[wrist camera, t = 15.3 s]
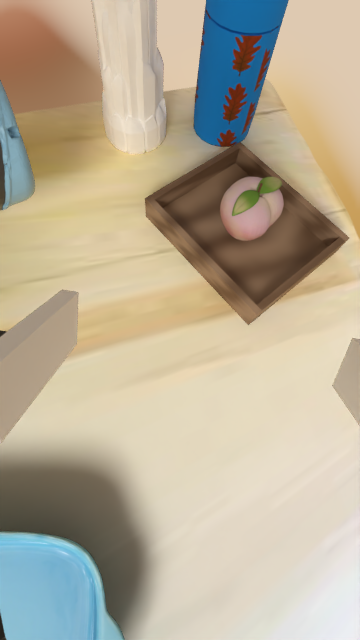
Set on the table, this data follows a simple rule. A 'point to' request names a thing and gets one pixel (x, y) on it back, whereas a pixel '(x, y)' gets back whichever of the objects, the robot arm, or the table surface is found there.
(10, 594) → the casserole dish
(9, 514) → the table surface
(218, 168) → the walnut tray
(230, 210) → the decorative fruit
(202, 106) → the thermos
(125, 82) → the decorative vase
